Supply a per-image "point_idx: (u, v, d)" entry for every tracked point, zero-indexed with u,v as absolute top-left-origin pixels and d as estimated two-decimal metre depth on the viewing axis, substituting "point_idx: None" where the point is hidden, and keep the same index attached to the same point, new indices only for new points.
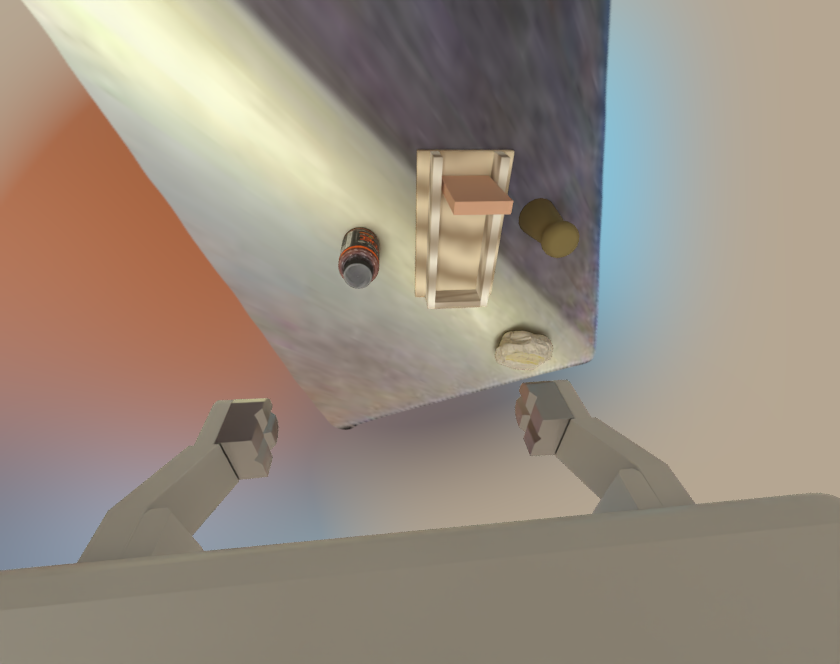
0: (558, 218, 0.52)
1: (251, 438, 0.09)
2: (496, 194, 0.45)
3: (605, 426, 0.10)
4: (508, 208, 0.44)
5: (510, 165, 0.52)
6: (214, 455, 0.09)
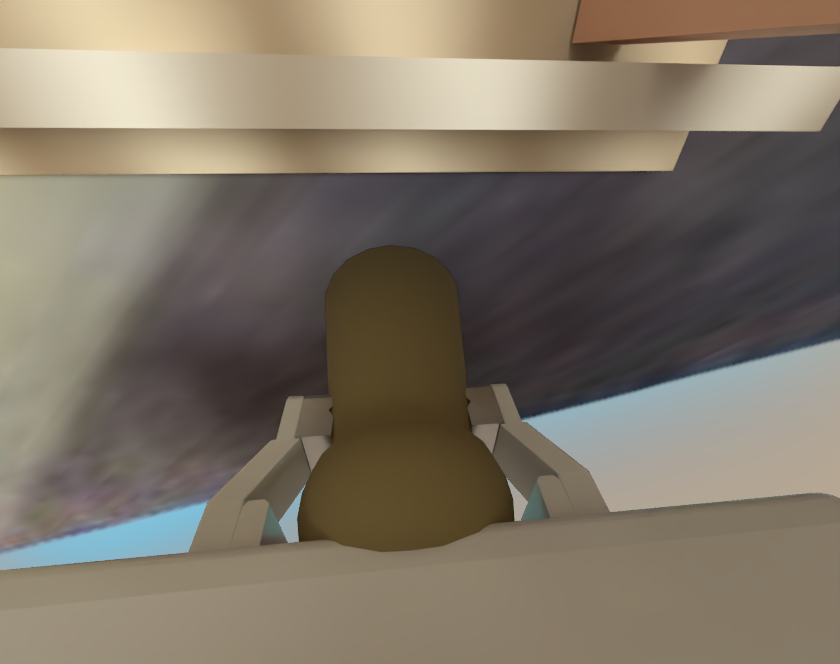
0: None
1: (330, 432, 0.10)
2: None
3: (533, 431, 0.10)
4: None
5: (623, 165, 0.12)
6: (295, 449, 0.09)
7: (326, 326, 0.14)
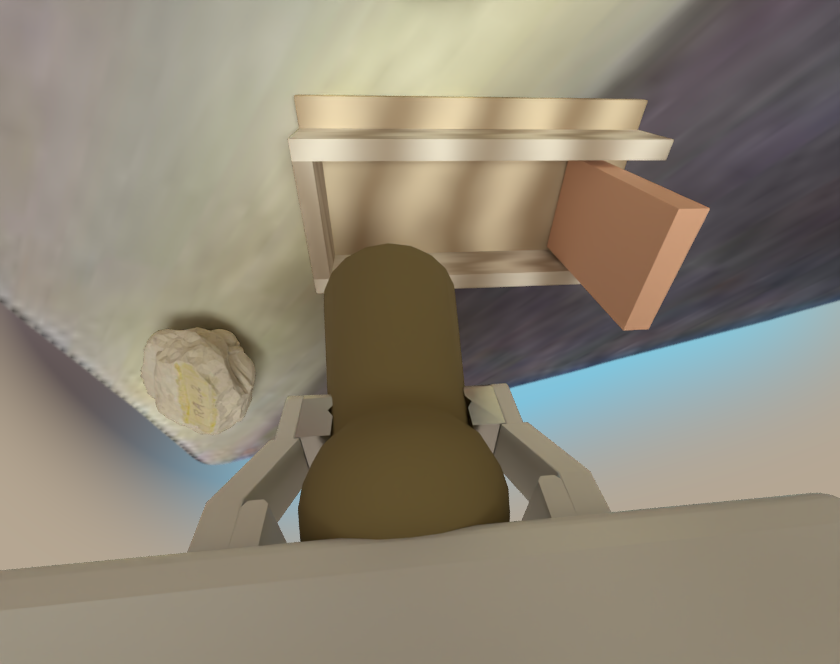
0: None
1: (329, 433, 0.10)
2: None
3: (534, 431, 0.10)
4: (637, 323, 0.21)
5: None
6: (295, 449, 0.09)
7: (325, 323, 0.14)
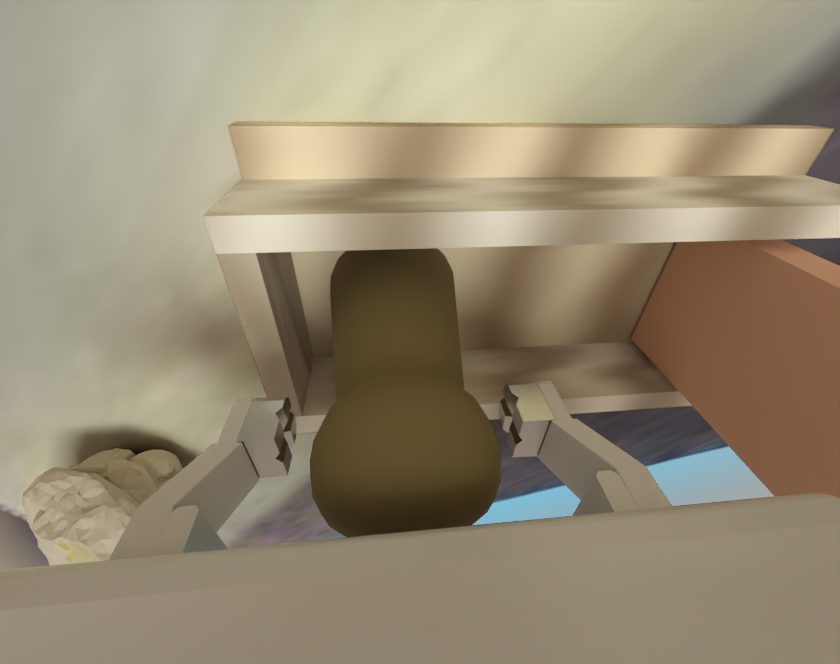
0: None
1: (273, 436, 0.10)
2: None
3: (585, 427, 0.10)
4: None
5: None
6: (237, 453, 0.09)
7: None
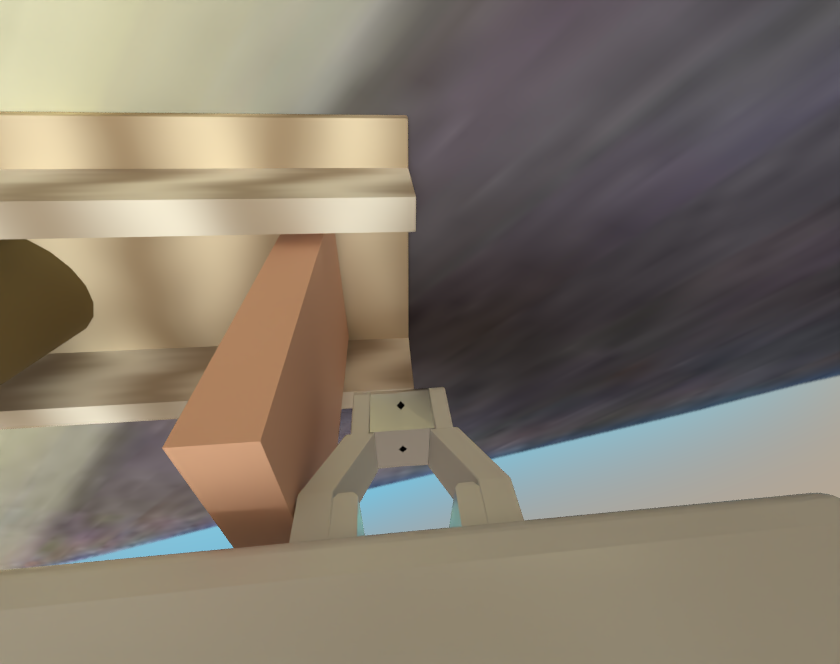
0: None
1: (402, 427, 0.10)
2: None
3: (462, 436, 0.10)
4: None
5: None
6: (370, 444, 0.10)
7: None
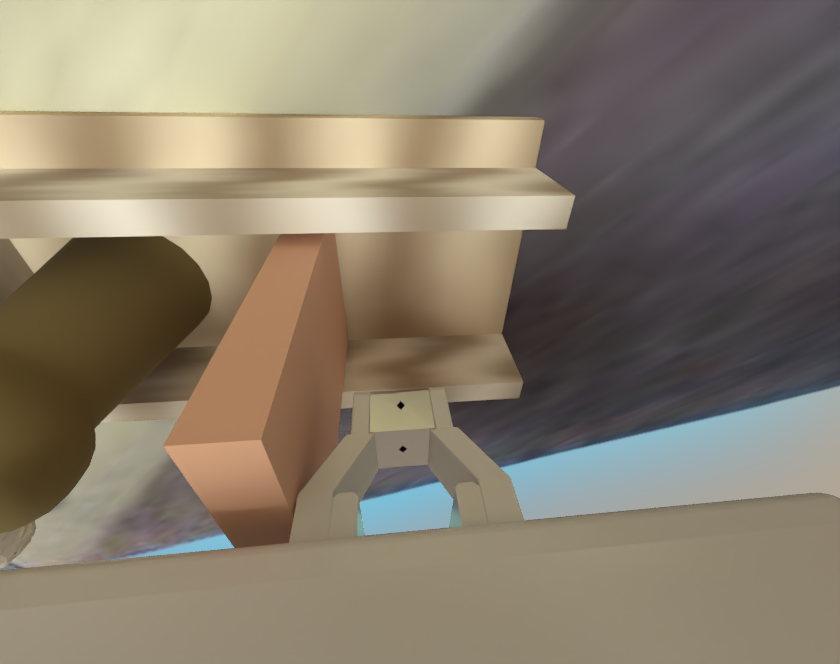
0: (114, 386, 0.12)
1: (402, 428, 0.10)
2: None
3: (462, 437, 0.10)
4: None
5: None
6: (370, 444, 0.10)
7: None
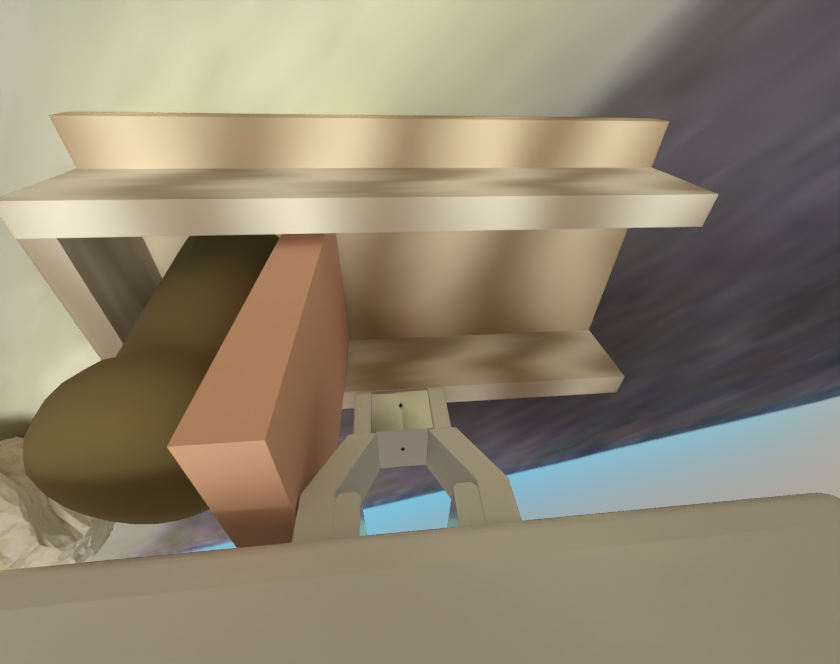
0: None
1: (404, 427, 0.10)
2: None
3: (460, 437, 0.10)
4: None
5: None
6: (372, 443, 0.10)
7: None
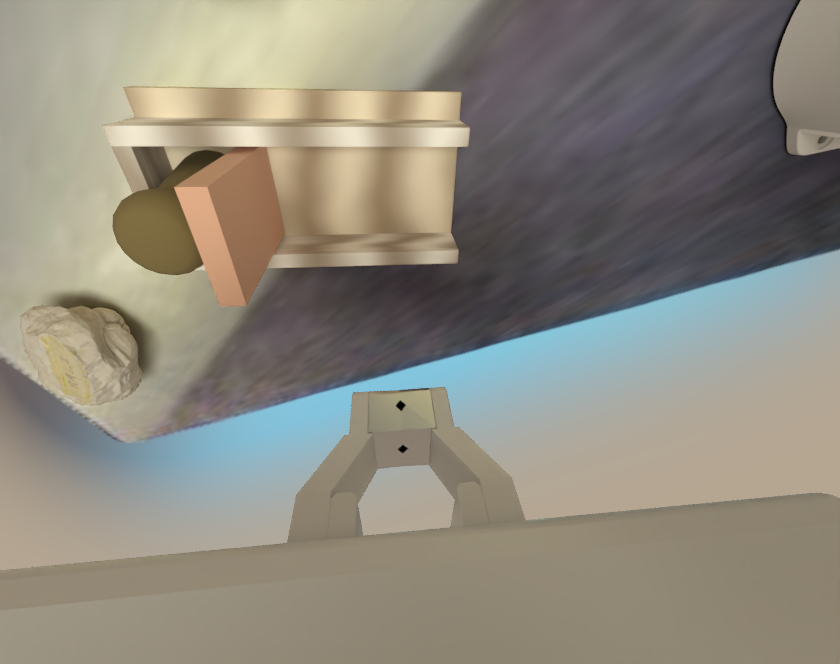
0: None
1: (401, 428, 0.10)
2: (252, 266, 0.24)
3: (464, 436, 0.10)
4: (229, 300, 0.22)
5: None
6: (369, 444, 0.10)
7: None
